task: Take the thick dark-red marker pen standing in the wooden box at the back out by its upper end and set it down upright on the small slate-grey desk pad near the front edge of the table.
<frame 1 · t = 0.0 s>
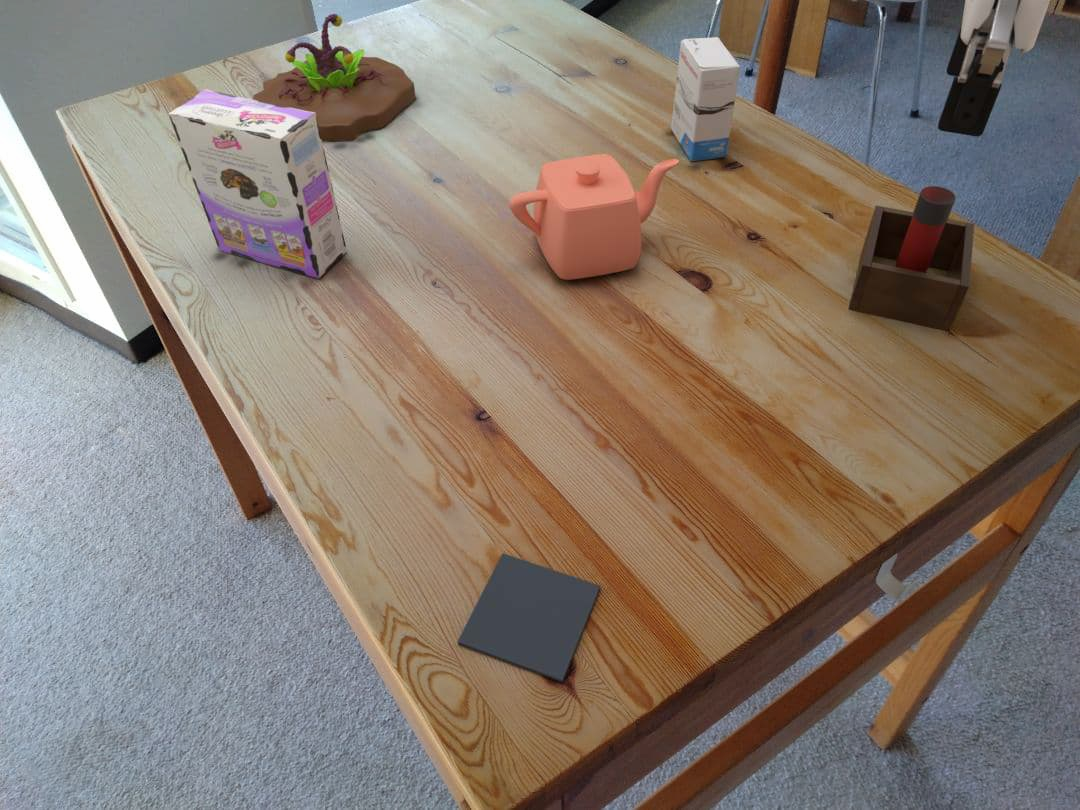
hand: (962, 102, 67), 23 cm above the table, tool pointing down, fingers open, 9 cm apart
plant: (340, 103, 117), on the table
wooden box: (903, 287, 87), on the table
ink box: (697, 144, 108), on the table
desk pad: (530, 615, 62), on the table
candy box: (283, 252, 94), on the table
marker pen: (920, 243, 83), in the wooden box
teapot: (592, 251, 93), on the table
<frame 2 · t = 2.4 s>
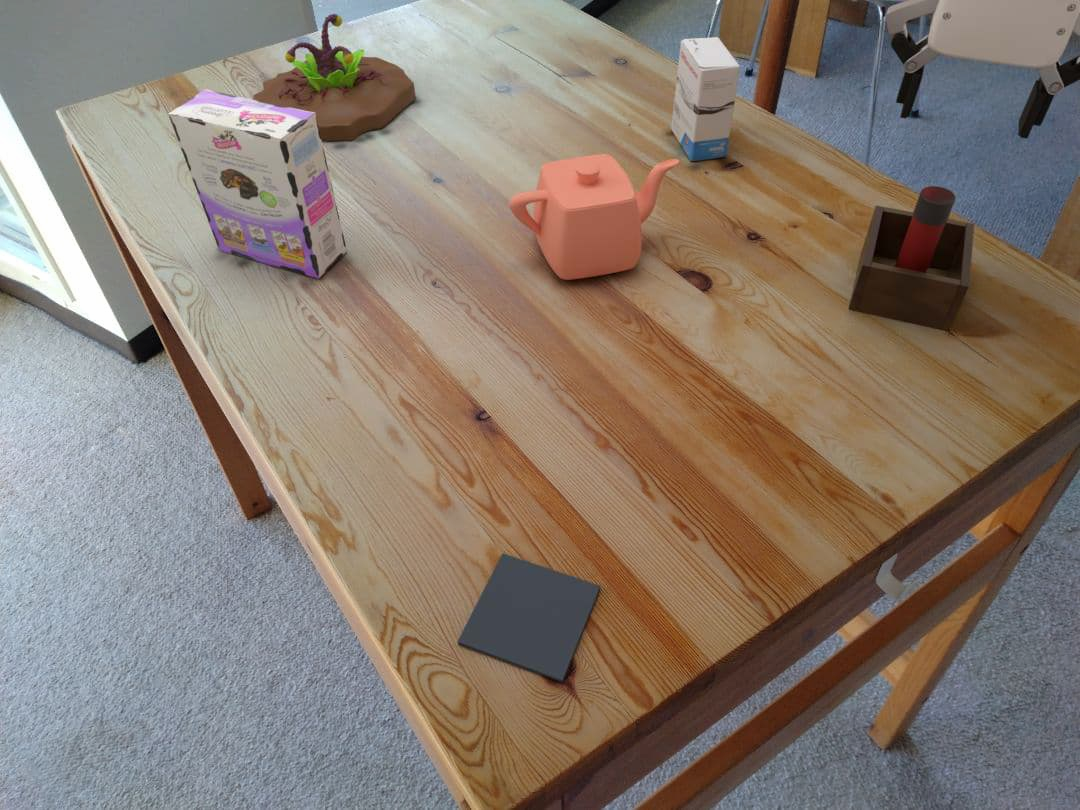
hand: (963, 120, 74), 18 cm above the table, tool pointing down, fingers open, 9 cm apart
nothing on the table moved.
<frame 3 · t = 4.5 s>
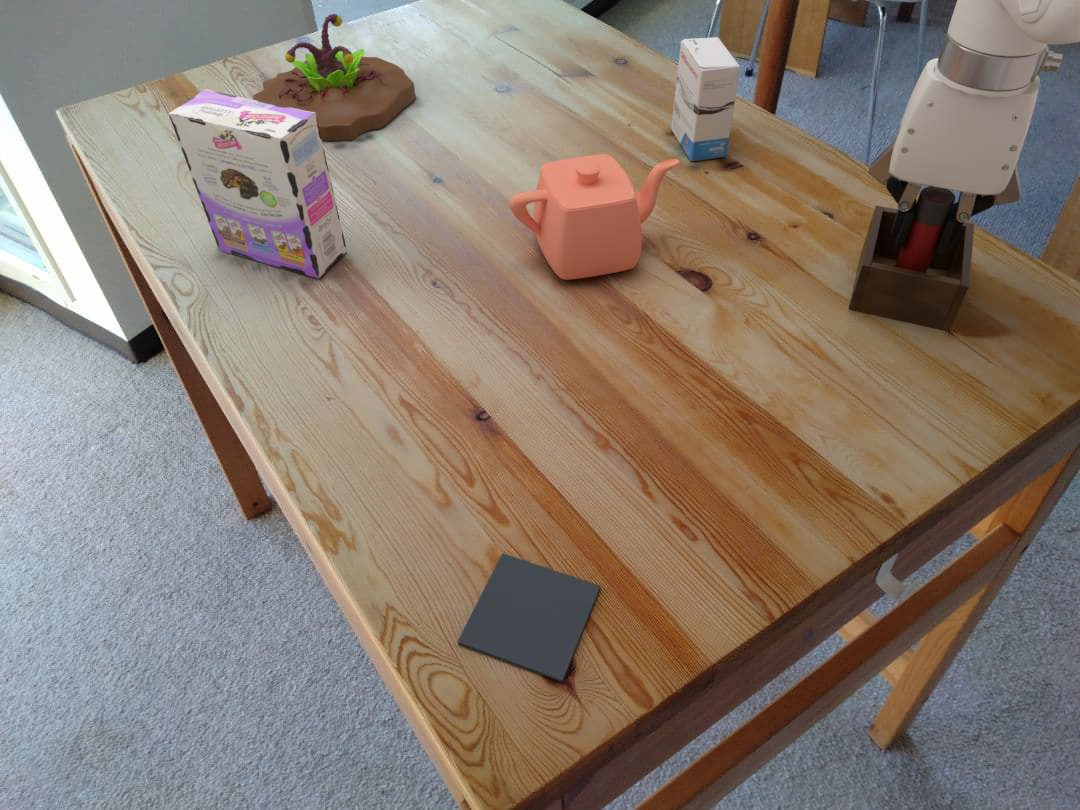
hand: (920, 242, 83), 6 cm above the table, tool pointing down, fingers closed on marker pen, 3 cm apart
marker pen: (920, 243, 83), in the wooden box, touching gripper
everything else where it was.
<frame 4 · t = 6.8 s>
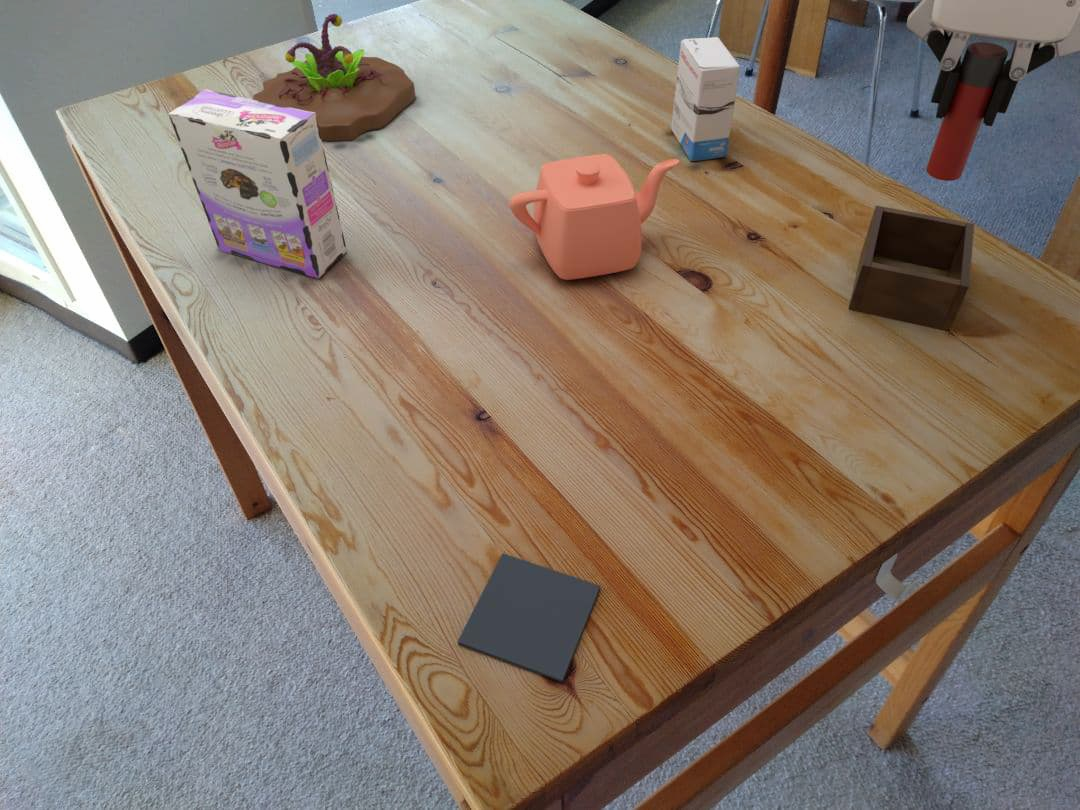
hand: (964, 113, 72), 20 cm above the table, tool pointing down, fingers closed on marker pen, 3 cm apart
marker pen: (964, 114, 72), point 20 cm above the table, touching gripper
everything else where it was.
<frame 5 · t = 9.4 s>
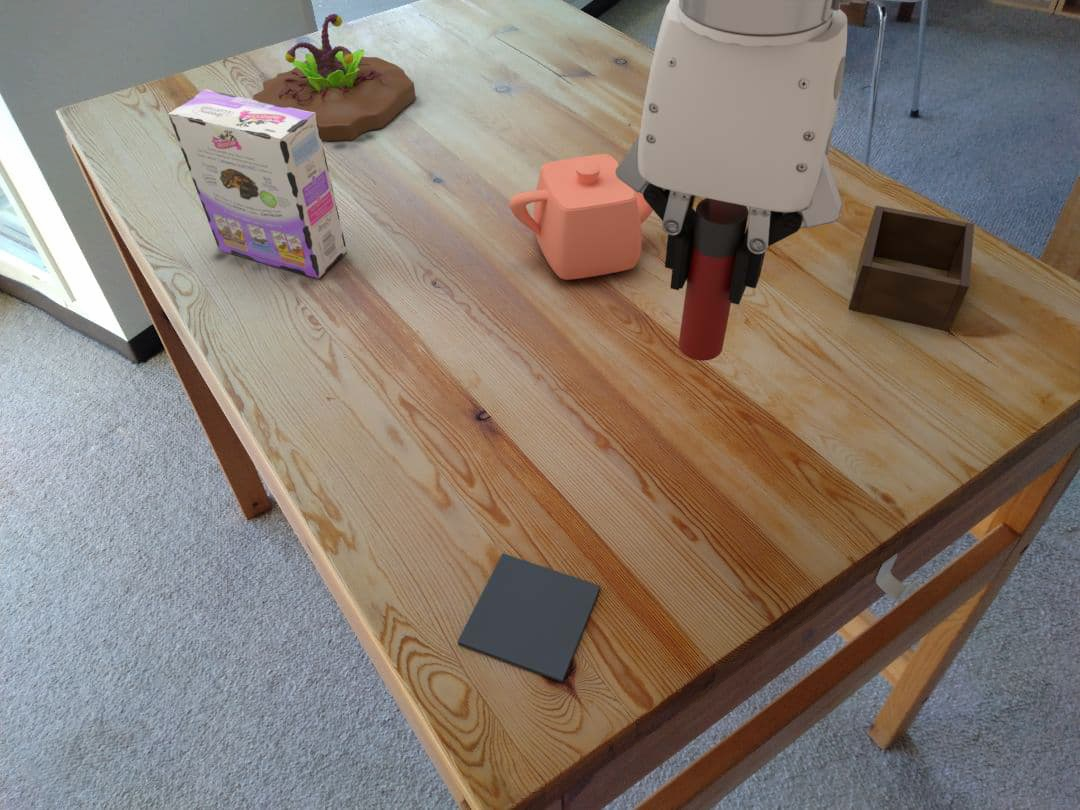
hand: (710, 281, 54), 21 cm above the table, tool pointing down, fingers closed on marker pen, 3 cm apart
marker pen: (710, 282, 55), point 21 cm above the table, touching gripper
everything else where it was.
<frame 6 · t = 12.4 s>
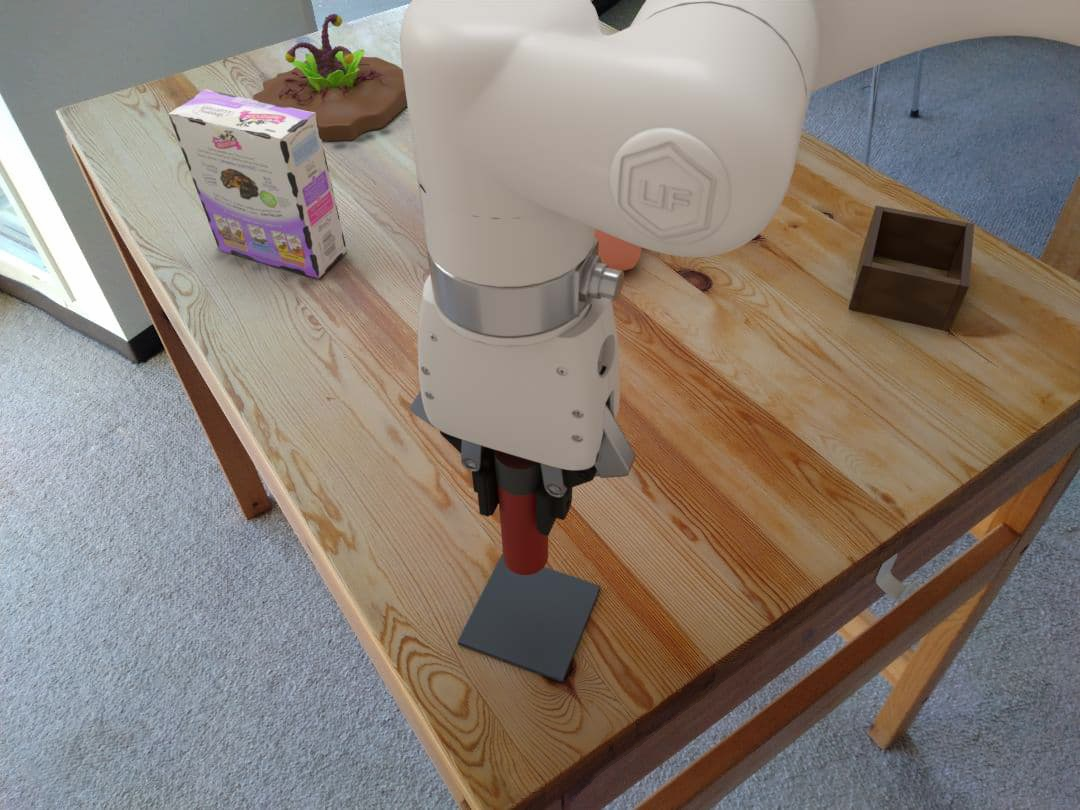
hand: (523, 505, 52), 13 cm above the table, tool pointing down, fingers closed on marker pen, 3 cm apart
marker pen: (523, 506, 52), point 13 cm above the table, touching gripper
everything else where it was.
when the fingers open (6 cm above the table, at t = 14.3 s): marker pen stays where it is, resting on desk pad.
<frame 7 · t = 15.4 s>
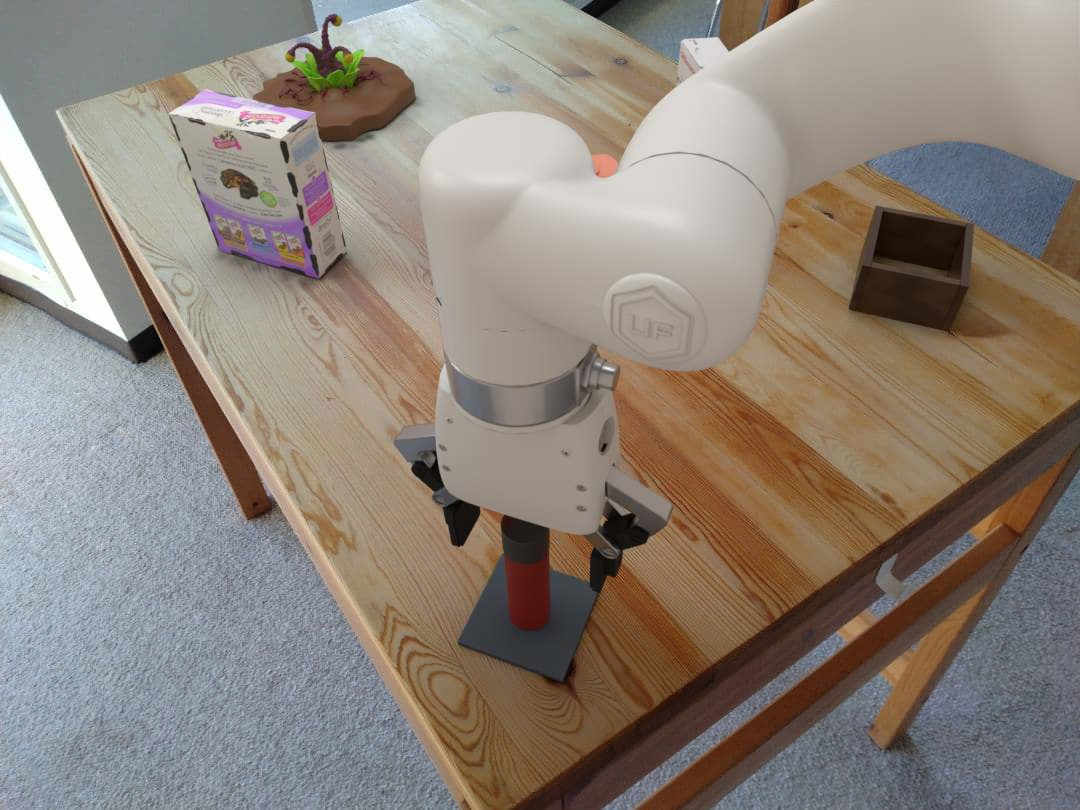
hand: (533, 551, 56), 9 cm above the table, tool pointing down, fingers open, 9 cm apart
marker pen: (527, 571, 58), on the desk pad
everything else where it was.
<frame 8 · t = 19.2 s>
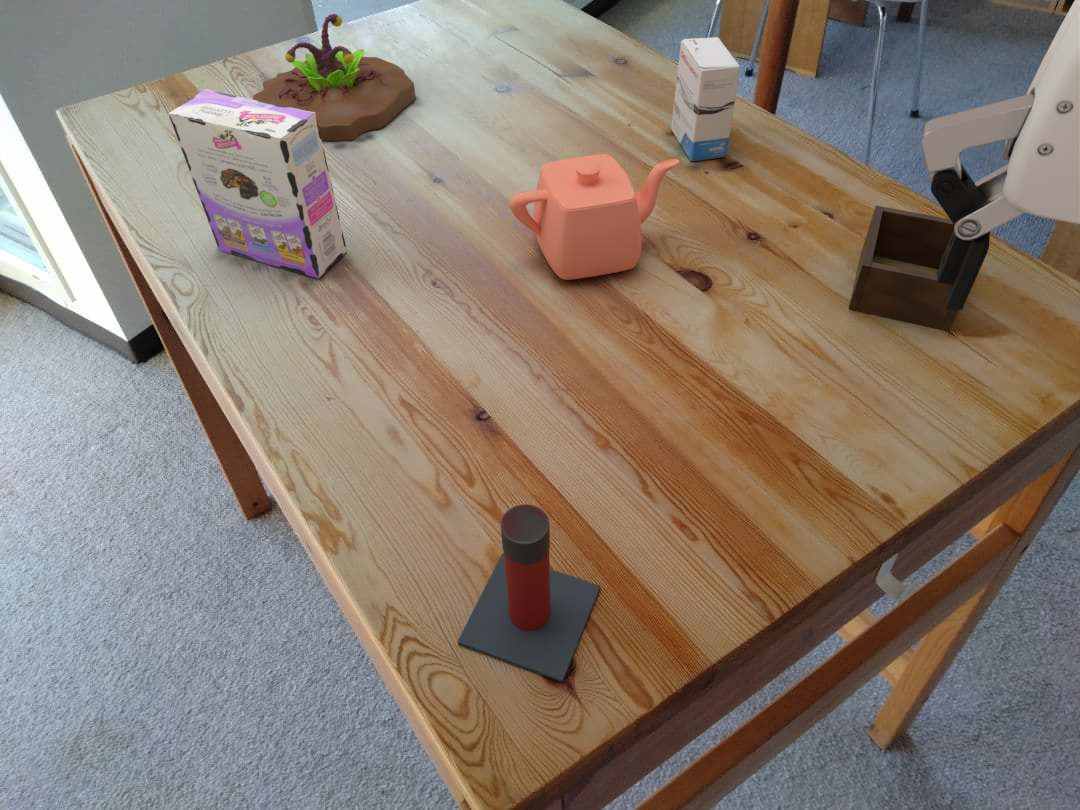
hand: (1059, 316, 41), 28 cm above the table, tool pointing down, fingers open, 9 cm apart
nothing on the table moved.
at the end: marker pen inside the target area on the desk pad (0.1 cm from its centre), point 5.9 cm above the desk pad's base; marker pen tilted 0°; the gripper is holding nothing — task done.
